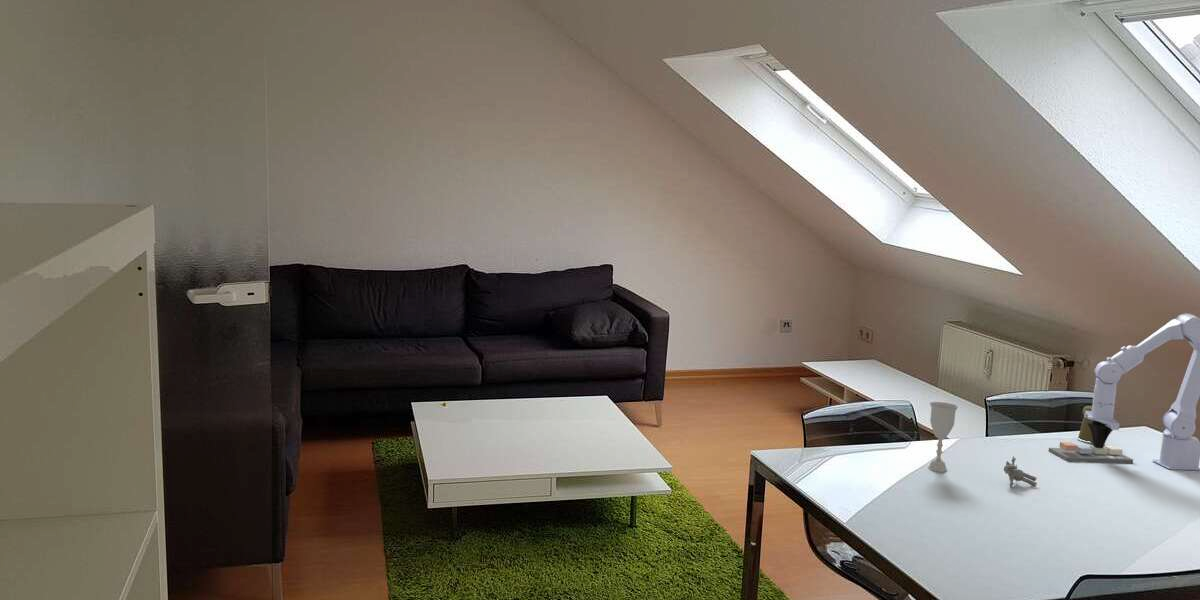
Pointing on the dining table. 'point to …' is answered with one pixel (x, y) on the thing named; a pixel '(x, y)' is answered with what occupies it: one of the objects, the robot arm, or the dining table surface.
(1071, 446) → the key terracotta
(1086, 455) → the keypad base
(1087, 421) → the cork
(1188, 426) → the robot arm
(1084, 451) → the key blue
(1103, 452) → the key sage
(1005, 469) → the toy figurine
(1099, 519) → the dining table surface
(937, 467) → the chalice
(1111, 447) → the key cream
